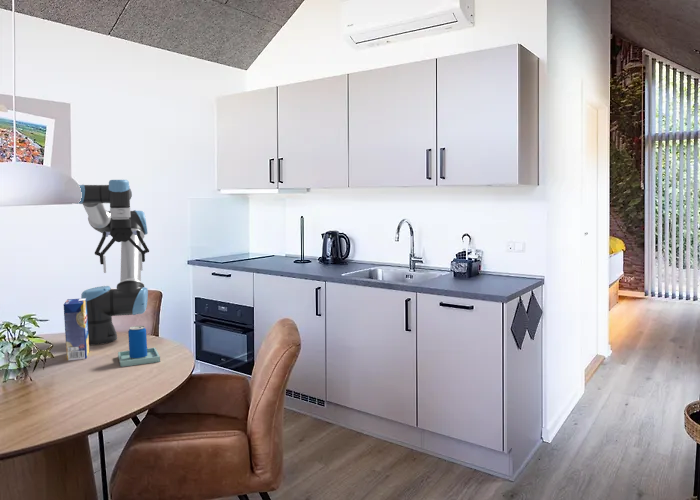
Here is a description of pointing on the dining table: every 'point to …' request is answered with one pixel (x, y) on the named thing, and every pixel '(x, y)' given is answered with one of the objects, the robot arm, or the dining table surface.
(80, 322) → the beverage box
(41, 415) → the dining table surface
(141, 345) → the beverage can
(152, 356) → the tray
